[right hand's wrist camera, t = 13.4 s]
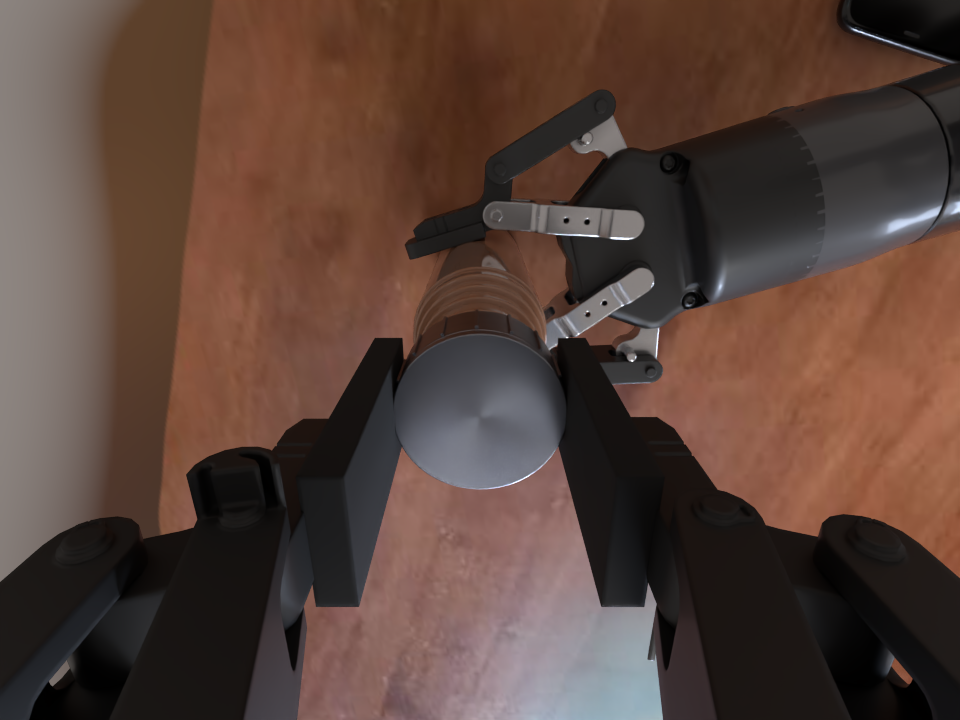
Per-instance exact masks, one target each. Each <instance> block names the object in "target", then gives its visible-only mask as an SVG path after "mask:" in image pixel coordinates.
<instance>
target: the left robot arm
mask: <svg viewBox="0 0 960 720" xmlns="http://www.w3.org/2000/svg"><path fill="white" fill-rule="evenodd" d="M615 108H616V101H615V98H614V96H613V95H612V94H611V93H610V92H609V91H607V90H597V91H595V92H593V93H592V94H590V95H588V96H586V97H584V98H583V99H581V100H580V101H578V102H576V103H575V104H573V105H572V106H570V107H568V108H567V109H565V110H564V111H562V112H561V113H559V114H557V115H556V116H554V117H553V118H551V119H550V120H548V121H546V122H545V123H543V124H542V125H540V126H538V127H537V128H535V129H534V130H532V131H531V132H529V133H527V134H526V135H524V136H523V137H521V138H520V139H518V140H516V141H515V142H513V143H512V144H510V145H508V146H507V147H505V148H504V149H502V150H501V151H499V152H497V153H496V154H494V155H493V156H491V157H490V158H489V159H488V160H487V162H486V165H485V181H484V192H483V195H482V197H481V198H480V200H479V201H478V202H476V203H475V204H472V205H469V206H466V207H463V208H460V209H456V210H453V211H450V212H447V213H443V214H440V215H437V216H434V217H431V218H427V219H425V220H424V221H423V222H421V223H420V224H419V225H418V226H417V227H416V228H415V229H414V230H413V231H414V234H415V237H414V238H412V239H410V240H408V241H407V242H406V244H405V247H406V250H407V253H408V256H409V259H416V258H419V257H422V256H426V255H429V254H432V253H436V252H439V251H442V250H446V249H449V248H452V247H456V246H459V245H462V244H464V243H468V242H472V241H475V240H479V239H482V238H485V237H486V232H487V231H490V230H493V229H495V230H513V231H530V232H536V233H542V234H556V237H557V241H558V245H559V247H560V249H561V250H562V252H563V254H564V256H565V258H566V274H565V275H566V279H567V283H568V288H566V289H565V290H563V291H562V292H560V293H559V294H558V295H556V296H555V297H554V298H553V299H552V300H551V301H550V303H549V304H548V305H547V306H545V307H544V308H543V311H544V314H545V319H546V329H547V342H546V346H547V347H548V349H549V351H550V353H551V355H552V354H554V356H555V359H556V361H557V347H555V346H556V345H558V338H569V337H575V336H578V335H580V334H581V333H583V332H584V331H586V330H587V329H589V328H590V327H592V326H593V325H595V324H596V323H598V322H599V321H601V320H602V319H604V318H605V317H607V316H608V317H611V318H614V319H616V320H619V321H622V322H625V323H628V324H631V325H634V328H633V330H632V331H631V332H629V333H628V334H625V335H620V336H618V337H617V338H615V339H614V341H613V342H612V345H595V346H590V347H591V349H592V350H593V352H594V354H595V356H596V357H597V359H598V361H599V363H600V364H601V366H602V368H603V370H604V371H605V373H606V375H607V377H608V378H609V380H610V382H611V384H633V383H652V382H655V381H657V380H658V379H659V378H660V377H661V376H662V373H663V368H662V365H661V364H660V363H659V362H658V360H657V358H656V355H657V344H658V333H659V328H660V327H662V326H664V325H665V324H667V323H668V322H669V321H670V320H671V319H672V318H674V317H675V316H676V315H678V314H679V313H681V312H683V311H686V310H689V309H694V308H699V307H704V306H709V305H712V304H716V303H720V302H723V301H727V300H730V299H734V298H738V297H741V296H745V295H749V294H752V293H756V292H759V291H763V290H767V289H770V288H774V287H778V286H781V285H785V284H788V283H792V282H796V281H799V280H803V279H806V278H810V277H814V276H817V275H821V274H824V273H828V272H832V271H835V270H839V269H843V268H846V267H849V266H852V265H855V264H859V263H862V262H864V261H867V260H869V259H872V258H874V257H876V256H879V255H881V254H883V253H886V252H888V251H891V250H893V249H896V248H899V247H902V246H905V245H909V244H912V243H916V242H920V241H923V240H927V239H931V238H934V237H938V236H941V235H945V234H949V233H952V232H956V231H959V230H960V62H959V63H955V64H951V65H948V66H945V67H942V68H938V69H935V70H932V71H928V72H925V73H922V74H919V75H915V76H912V77H909V78H906V79H903V80H899V81H896V82H893V83H890V84H886V85H883V86H880V87H877V88H873V89H869V90H864V91H859V92H853V93H846V94H840V95H835V96H830V97H826V98H822V99H818V100H815V101H812V102H808V103H805V104H802V105H799V106H791V107H783V108H780V109H778V110H775V111H773V112H771V113H769V114H768V115H767V116H763V117H760V118H757V119H753V120H750V121H747V122H744V123H741V124H737V125H734V126H731V127H728V128H725V129H721V130H718V131H715V132H712V133H709V134H705V135H702V136H699V137H696V138H692V139H689V140H686V141H683V142H680V143H676V144H673V145H670V146H667V147H663V148H660V149H657V150H652V151H646V150H641V149H638V148H627V146H626V144H625V141H624V139H623V137H622V135H621V132H620V130H619V128H618V126H617V123H616V121H615V119H614V117H613V113H614V111H615ZM566 145H568V147H569V149H570V150H571V151H572V152H574V153H577V154H585V153H589V152H591V151H596V152H598V153H600V154H601V155H602V156H603V158H604V159H603V160H602V161H601V162H600V164H599V165H598V166H597V167H596V169H595V170H594V171H593V172H592V174H591V175H590V176H589V177H588V179H587V180H586V181H585V182H584V184H583V185H582V186H581V187H580V189H579V190H578V191H577V193H576V194H575V195H574V196H573V198H572V199H571V200H570V201H567V200H550V199H520V198H511V191H512V179H513V178H514V177H516V176H518V175H519V174H521V173H523V172H524V171H526V170H527V169H529V168H531V167H532V166H534V165H536V164H537V163H539V162H540V161H542V160H544V159H545V158H547V157H548V156H550V155H552V154H553V153H555V152H557V151H558V150H560V149H561V148H563V147H565V146H566ZM586 312H588V313H587V314H585V313H586Z"/></svg>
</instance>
